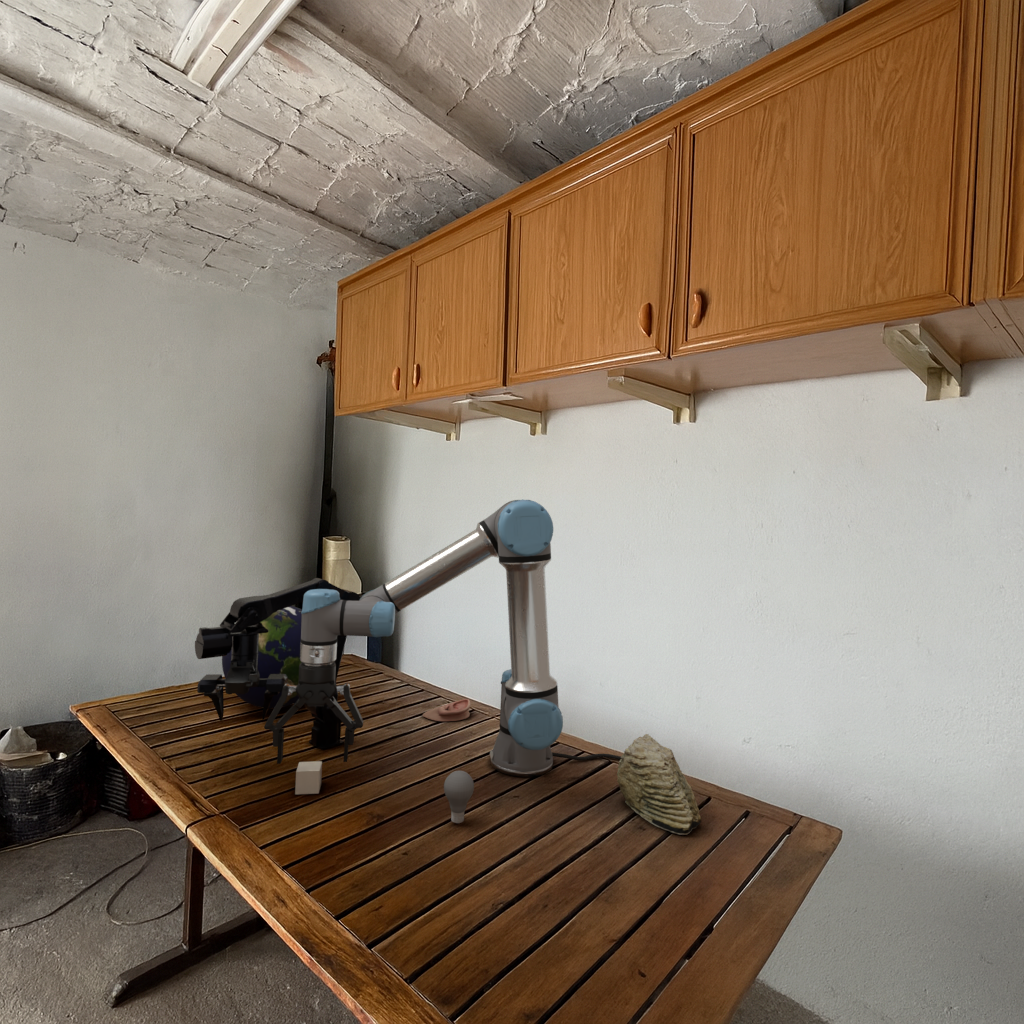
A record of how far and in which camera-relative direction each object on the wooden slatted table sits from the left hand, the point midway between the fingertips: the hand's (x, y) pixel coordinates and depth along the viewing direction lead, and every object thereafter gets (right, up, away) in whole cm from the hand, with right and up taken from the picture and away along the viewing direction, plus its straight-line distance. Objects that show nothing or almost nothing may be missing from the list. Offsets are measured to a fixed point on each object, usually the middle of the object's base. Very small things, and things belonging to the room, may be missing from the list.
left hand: (242, 719), depth 148 cm
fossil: (+93, -15, -16) cm, 95 cm away
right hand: (+20, -5, -12) cm, 24 cm away
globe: (-7, -9, +40) cm, 42 cm away
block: (+19, -12, -10) cm, 24 cm away
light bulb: (+52, -13, -22) cm, 58 cm away
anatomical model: (+44, -12, +39) cm, 60 cm away
